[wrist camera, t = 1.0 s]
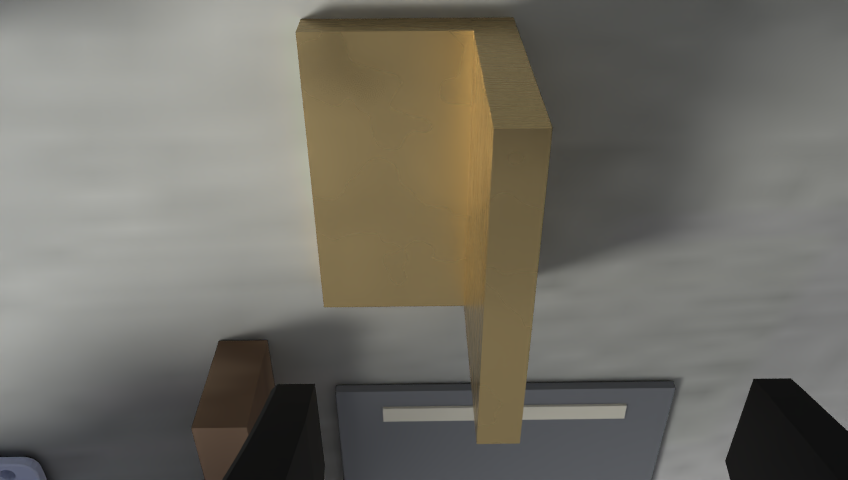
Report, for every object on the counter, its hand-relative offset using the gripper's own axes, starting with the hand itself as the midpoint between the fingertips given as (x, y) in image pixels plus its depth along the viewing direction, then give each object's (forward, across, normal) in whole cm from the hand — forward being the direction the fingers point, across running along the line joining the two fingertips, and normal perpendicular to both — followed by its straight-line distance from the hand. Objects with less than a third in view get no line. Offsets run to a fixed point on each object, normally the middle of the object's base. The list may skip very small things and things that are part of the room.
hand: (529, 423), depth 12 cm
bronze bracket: (+9, +2, 0) cm, 9 cm away
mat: (+9, -1, +12) cm, 15 cm away
